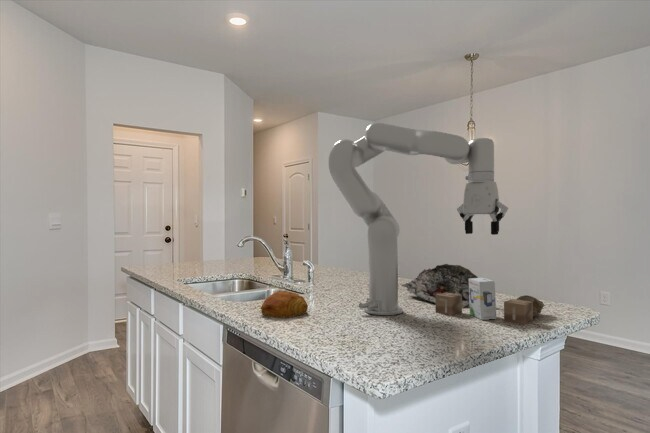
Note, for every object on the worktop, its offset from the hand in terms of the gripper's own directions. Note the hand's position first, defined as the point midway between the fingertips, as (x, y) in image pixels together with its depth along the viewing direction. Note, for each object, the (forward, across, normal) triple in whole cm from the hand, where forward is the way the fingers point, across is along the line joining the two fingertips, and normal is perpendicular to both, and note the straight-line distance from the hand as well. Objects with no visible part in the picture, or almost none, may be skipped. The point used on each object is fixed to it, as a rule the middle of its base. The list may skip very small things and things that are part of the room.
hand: (481, 233), depth 131 cm
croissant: (+26, -45, -45) cm, 69 cm away
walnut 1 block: (+26, +10, +3) cm, 28 cm away
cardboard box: (+26, -10, -3) cm, 28 cm away
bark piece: (+26, -25, +11) cm, 38 cm away
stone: (+26, +8, +12) cm, 30 cm away
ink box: (+26, 0, 0) cm, 26 cm away
